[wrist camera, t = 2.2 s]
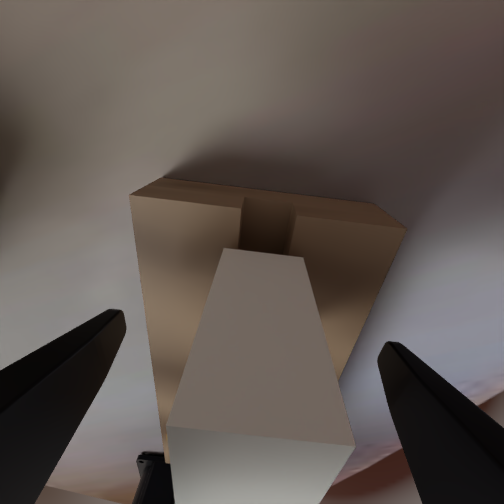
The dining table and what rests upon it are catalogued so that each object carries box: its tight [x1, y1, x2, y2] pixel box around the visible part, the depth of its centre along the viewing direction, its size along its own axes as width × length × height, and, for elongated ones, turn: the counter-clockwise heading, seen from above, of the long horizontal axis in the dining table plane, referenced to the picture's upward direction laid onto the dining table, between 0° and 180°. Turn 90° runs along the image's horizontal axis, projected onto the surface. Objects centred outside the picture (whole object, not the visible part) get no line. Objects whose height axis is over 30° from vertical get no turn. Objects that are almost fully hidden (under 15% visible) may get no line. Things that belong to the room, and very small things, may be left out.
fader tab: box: [166, 248, 356, 504], centre depth 8 cm, size 4×3×8 cm
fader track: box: [129, 178, 407, 464], centre depth 15 cm, size 21×10×3 cm, turn 174°
